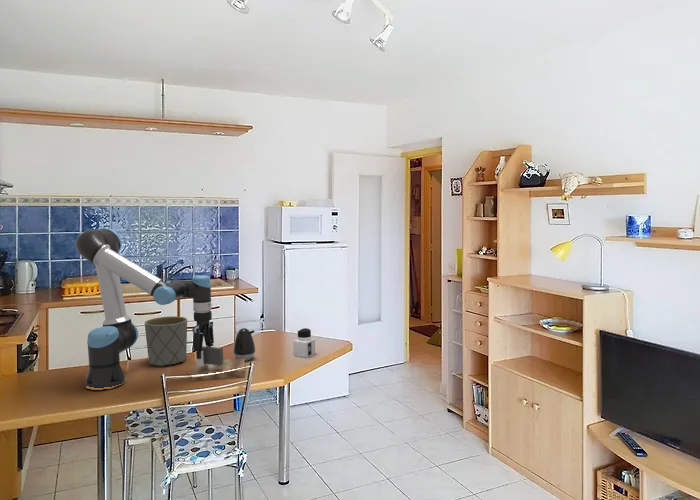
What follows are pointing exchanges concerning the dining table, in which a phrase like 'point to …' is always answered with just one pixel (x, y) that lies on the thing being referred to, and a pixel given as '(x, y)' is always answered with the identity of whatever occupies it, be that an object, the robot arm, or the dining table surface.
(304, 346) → the container
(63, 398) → the dining table surface
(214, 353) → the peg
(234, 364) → the tuner board
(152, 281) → the robot arm
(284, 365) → the dining table surface
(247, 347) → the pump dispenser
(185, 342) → the planter
